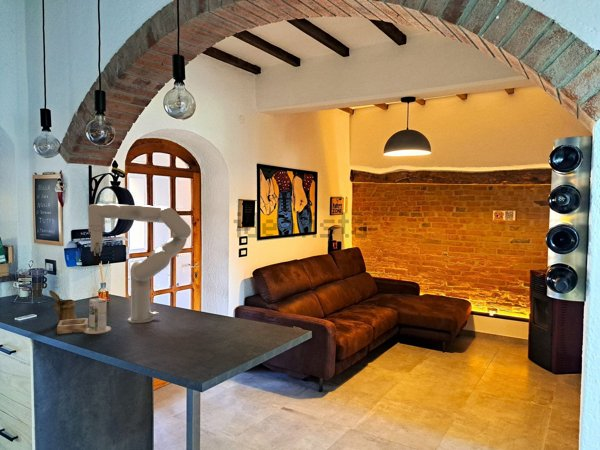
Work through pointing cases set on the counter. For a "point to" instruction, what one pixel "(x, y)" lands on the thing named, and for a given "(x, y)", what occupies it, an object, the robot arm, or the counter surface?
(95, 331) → the cream shiny round part
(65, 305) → the wooden mug
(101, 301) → the syrup box
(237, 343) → the counter surface
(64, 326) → the oak collar
